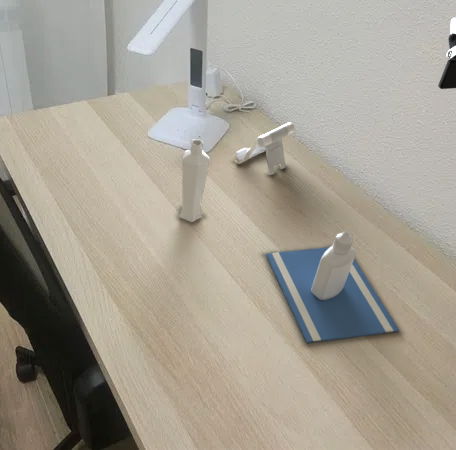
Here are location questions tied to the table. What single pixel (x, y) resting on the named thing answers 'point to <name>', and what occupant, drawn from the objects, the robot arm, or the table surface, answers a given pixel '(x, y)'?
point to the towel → (330, 308)
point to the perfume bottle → (193, 180)
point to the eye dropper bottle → (334, 267)
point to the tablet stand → (268, 147)
